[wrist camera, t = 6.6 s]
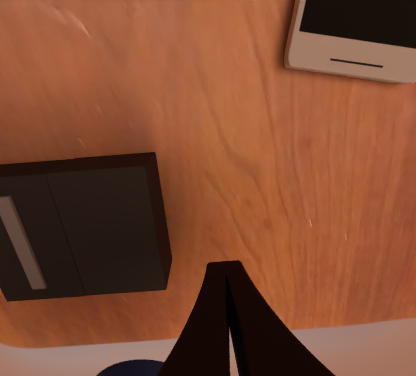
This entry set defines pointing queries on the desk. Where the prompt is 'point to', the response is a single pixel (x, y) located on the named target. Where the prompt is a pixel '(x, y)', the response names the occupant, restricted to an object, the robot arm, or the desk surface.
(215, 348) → the robot arm
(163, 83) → the desk surface
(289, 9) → the desk surface
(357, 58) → the smartphone
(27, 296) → the pad
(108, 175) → the pad
